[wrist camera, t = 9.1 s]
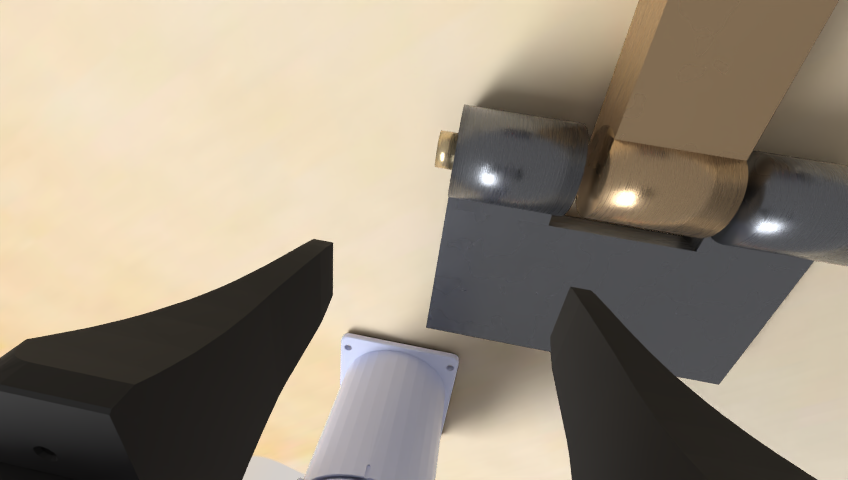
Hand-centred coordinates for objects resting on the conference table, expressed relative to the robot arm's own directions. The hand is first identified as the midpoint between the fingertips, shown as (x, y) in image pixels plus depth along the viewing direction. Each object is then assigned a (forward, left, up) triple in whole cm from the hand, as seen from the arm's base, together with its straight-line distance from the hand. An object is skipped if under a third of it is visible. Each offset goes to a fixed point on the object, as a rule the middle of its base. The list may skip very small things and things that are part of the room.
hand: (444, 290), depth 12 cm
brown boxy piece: (+5, -8, -9) cm, 14 cm away
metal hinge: (-3, -8, -9) cm, 13 cm away
